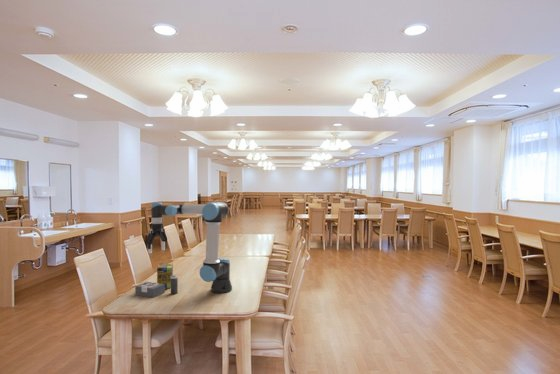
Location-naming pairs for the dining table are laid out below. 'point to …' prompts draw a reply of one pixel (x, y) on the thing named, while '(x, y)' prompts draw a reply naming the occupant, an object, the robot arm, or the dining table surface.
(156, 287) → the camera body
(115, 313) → the dining table surface
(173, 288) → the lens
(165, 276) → the protein box
